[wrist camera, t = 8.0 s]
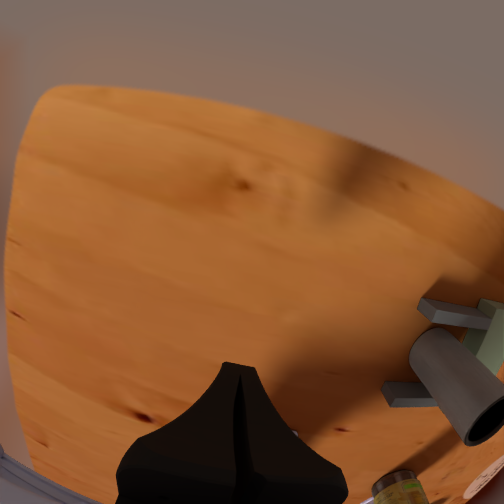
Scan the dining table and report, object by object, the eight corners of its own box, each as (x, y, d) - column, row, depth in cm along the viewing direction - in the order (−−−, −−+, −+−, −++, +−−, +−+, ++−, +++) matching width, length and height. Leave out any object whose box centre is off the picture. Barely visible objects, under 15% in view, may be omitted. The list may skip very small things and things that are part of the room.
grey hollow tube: (409, 378, 23) (460, 457, 13) (406, 338, 22) (469, 417, 12) (450, 359, 23) (509, 425, 13) (450, 318, 22) (522, 382, 12)
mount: (464, 397, 24) (475, 410, 22) (376, 398, 24) (384, 416, 21) (509, 304, 22) (524, 314, 19) (425, 285, 21) (441, 296, 19)
